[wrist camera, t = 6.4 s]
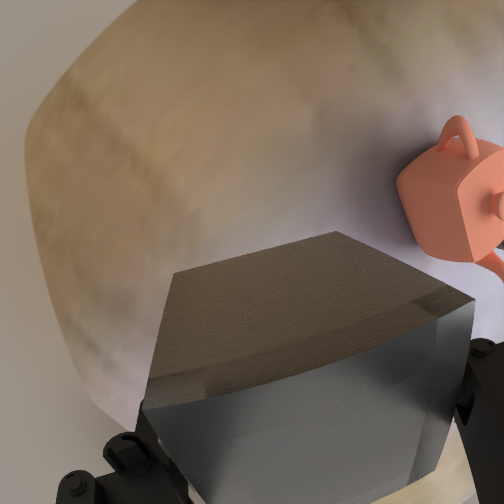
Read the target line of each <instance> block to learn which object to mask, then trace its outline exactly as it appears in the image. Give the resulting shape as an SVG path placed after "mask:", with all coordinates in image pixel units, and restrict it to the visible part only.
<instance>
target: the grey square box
mask: <svg viewBox="0 0 504 504" xmlns="http://www.w3.org/2000/svg"><path fill="white" fill-rule="evenodd" d="M475 300H476V299H474V298H472V297H470V296H468V295H467V294H465V293H463V292H461V291H459V290H457V289H455V288H453V287H451V286H449V285H447V284H445V283H444V282H442V281H440V280H438V279H436V278H434V277H432V276H430V275H428V274H426V273H424V272H422V271H420V270H418V269H416V268H414V267H412V266H410V265H408V264H406V263H404V262H401V261H399V260H397V259H395V258H393V257H391V256H389V255H387V254H385V253H383V252H381V251H379V250H376V249H374V248H372V247H370V246H368V245H366V244H364V243H361V242H359V241H357V240H355V239H353V238H350V237H348V236H346V235H344V234H342V233H339V232H337V231H334V232H331V233H327V234H323V235H319V236H315V237H311V238H308V239H304V240H300V241H296V242H292V243H288V244H285V245H281V246H277V247H273V248H269V249H265V250H262V251H258V252H254V253H250V254H246V255H242V256H239V257H235V258H231V259H227V260H223V261H219V262H215V263H212V264H208V265H204V266H200V267H196V268H192V269H189V270H185V271H181V272H177V273H174V275H173V278H172V282H171V286H170V289H169V293H168V297H167V301H166V305H165V309H164V313H163V317H162V321H161V325H160V329H159V333H158V337H157V341H156V346H155V350H154V354H153V359H152V363H151V368H150V372H149V377H148V382H147V387H146V391H145V396H144V401H143V406H142V411H143V413H144V415H145V416H146V418H147V420H148V421H149V423H150V425H151V426H152V428H153V430H154V431H155V433H156V434H157V436H158V437H159V439H160V441H161V442H162V444H163V445H164V447H165V448H166V450H167V451H168V453H169V454H170V456H171V457H172V458H173V460H174V461H175V463H176V464H177V466H178V467H179V468H180V470H181V471H182V473H183V474H184V475H185V477H186V478H187V479H188V481H189V482H190V483H191V485H192V486H193V487H194V489H195V490H196V491H197V493H198V494H199V495H200V496H201V498H202V499H203V500H204V501H205V503H206V504H370V503H372V502H374V501H377V500H379V499H381V498H383V497H385V496H387V495H390V494H392V493H394V492H396V491H398V490H400V489H402V488H404V487H406V486H407V485H409V484H411V483H413V482H415V481H417V480H419V479H420V478H422V477H424V476H426V475H427V474H429V473H431V472H433V471H434V470H435V468H436V465H437V463H438V460H439V458H440V455H441V452H442V450H443V447H444V444H445V441H446V438H447V435H448V432H449V429H450V426H451V423H452V419H453V416H454V412H455V409H456V405H457V402H458V398H459V394H460V390H461V386H462V381H463V377H464V372H465V368H466V363H467V357H468V352H469V346H470V340H471V333H472V326H473V319H474V310H475Z"/></svg>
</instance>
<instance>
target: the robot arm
mask: <svg viewBox="0 0 504 504" xmlns="http://www.w3.org/2000/svg"><path fill="white" fill-rule="evenodd" d="M143 401H144V399H143V400H142V402H141V403H140V408H139V415H138V418H137V424H136V429H135V432H125V433H120V434H118V435H116V436H114V437H113V438H111V439H110V440H109V442H107V443H106V445H105V447H104V449H103V457H104V458H105V460H106V461H107V462H108V463H109V464H110V465H111V466H112V468H113V469H114V470H115V472H113V473H110V474H107V475H103V476H100V477H97V478H94V477H93V476H92V475H91V474H90V473H88V472H87V471H84V470H76V471H72V472H70V473H69V474H67V475H65V476H64V478H63V479H62V480H61V482H60V484H59V487H58V492H57V498H56V504H194V502H193V501H192V500H191V499H190V497H189V494H188V485H189V486H190V488H191V489H192V490H193V491H194V492H197V491H196V490H195V489H194V487H193V486H192V485H191V483H190V482H189V481H188V479H187V478H186V477H185V475H184V474H183V473H182V471H181V470H180V468H179V467H178V466H177V464H176V463H175V461H174V460H173V458H172V457H171V456H170V454H169V453H168V451H167V450H166V448H165V447H164V445H163V444H162V442H161V441H160V439H159V437H158V436H157V434H156V433H155V431H154V430H153V428H152V426H151V425H150V423H149V421H148V420H147V418H146V416H145V415H144V413H143V411H142V406H143ZM454 419H455V421H454V423H455V422H456V424H457V427H458V430H459V433H460V436H461V439H462V442H463V445H464V449H465V452H466V455H467V458H468V462H469V465H470V469H471V472H472V476H473V480H474V484H475V488H476V492H477V496H478V500H479V504H504V342H501V343H498V344H495V343H494V342H493V341H491V340H489V339H484V338H477V339H472V340H470V346H469V352H468V357H467V363H466V368H465V372H464V377H463V381H462V386H461V390H460V394H459V398H458V402H457V405H456V409H455V412H454Z"/></svg>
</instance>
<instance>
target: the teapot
mask: <svg viewBox="0 0 504 504" xmlns="http://www.w3.org/2000/svg"><path fill="white" fill-rule="evenodd" d="M456 135H459V136H460V137H459V138H454V137H455V136H456ZM395 183H396V188H397V191H398V194H399V197H400V200H401V203H402V206H403V209H404V211H405V214H406V217H407V219H408V222H409V225H410V227H411V230H412V232H413V235H414V237H415V239H416V241H417V243H418V245H419V246H420V248H421V249H422V250H423V251H424V252H425V253H426V254H428V255H430V256H432V257H435V258H438V259H442V260H447V261H454V262H474V263H476V264H478V265H480V266H482V267H484V268H486V269H489V270H490V271H492V272H494V273H495V274H497V275H498V276H499V277H500V278H501V279H502V281H503V283H504V262H503V261H502V260H501V258H500V257H499V256H498V255H497V254H496V253H495V252H494V251H493V250H494V249H495V248H496V247H497V246H498V245H499V244H500V243H501V242H502V241H503V240H504V148H503V147H501V146H499V145H496V144H493V143H490V142H488V141H484V140H481V139H476V138H475V136H474V134H473V131H472V129H471V127H470V125H469V123H468V121H467V120H466V119H465V118H464V117H462V116H457V115H456V116H454V117H452V118H451V119H449V120H448V121H447V123H446V124H445V126H444V127H443V130H442V132H441V135H440V138H439V141H438V144H437V145H435V146H433V147H432V148H430V149H428V150H426V151H425V152H424V153H422V154H421V155H419V156H418V157H417V158H416V159H414V160H413V161H412V162H411V163H410V164H409V165H407V166H406V167H405V168H404V169H403V170H402V171H401V172H400V173H399V175H398V176H397V178H396V182H395Z"/></svg>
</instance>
